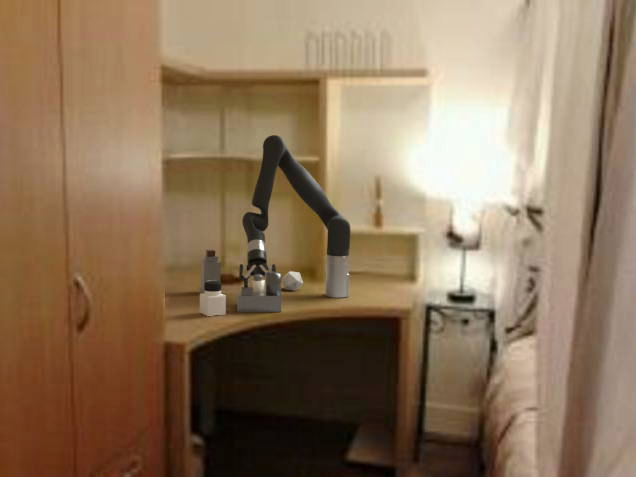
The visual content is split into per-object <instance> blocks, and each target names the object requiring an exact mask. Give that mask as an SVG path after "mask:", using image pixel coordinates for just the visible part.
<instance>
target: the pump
mask: <svg viewBox="0 0 636 477" xmlns="http://www.w3.org/2000/svg"><path fill="white" fill-rule="evenodd" d="M250 287H252V288H253V293H266V279H263V276H262V275H260V274H255V275H254V276H253V279H251V280H250Z"/></svg>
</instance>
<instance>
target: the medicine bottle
mask: <svg viewBox="0 0 636 477" xmlns="http://www.w3.org/2000/svg"><path fill="white" fill-rule="evenodd" d="M204 292H205V293H200V294H199V313H200V314H201V313H202V315H203V314H204V316H205V315H207V316H206V317H208V316H211V317H215V316H214V315H219V316H225V315H226V314H227V312H226V311H227V295H225V294H223V293H222V282H221V280H220V281H217V280H209V281H206V282H205V283H204Z"/></svg>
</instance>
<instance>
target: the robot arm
mask: <svg viewBox="0 0 636 477" xmlns="http://www.w3.org/2000/svg"><path fill="white" fill-rule="evenodd" d="M262 149H263V150H262V161H261V166H260V171H259V174H258V176H257V177H258V178H257V181H256V183H255V186H254V191H253V196H252V199H251V205H252V206H253V207H254V208H257V209H259V211H260V213H257V212H253V211H247V212H245V213H244V215H243V216H242V219H241V220H242V222H241V223H242V227H243V230H244V232H245V235H246V238H247V239H246V240H247V246H246V247H247V248H246V256H247V257H246V258H247V260H246V261H247V265H244V264H242V263H240V264H239V272H238V276H239V277H238V280H239V281H243V287H249V279H251V278H252V277H254V275H255V274H260V275H262V278H264V279H266V273H267V272H277V269H276V268H277V267H276V264H273V263H272V265H268V262H267V261H268V259H267V247H266V246H267V245H266V236H265V235H266V234H265V231H266V230H267V229H268V227H269V208H270V207H269V205H270V201H271V197H272V193H273V188H274V183H275V177H276V173H277V169H278V168H279V169H280V171H282V172H283V175H284V176H285V178H286V179H287V181H288V183H289V184H290V186H291V187H292V189H293V190H294V191H295V193H296V194H297V195H298V197H299V198H300V199H301V200H302V201H303V202H304V204H306V205H307V206H308V207H309V208H310V209H311V210H312V211H313V212H314V213H315V214H316V215H317V216H318V217H319V219H320V220H321V222H322V223H323V225H324V226H325V228H326V230H327V244H326V261H325V262H326V265H325V266H326V268H325V296H326V297H329V298H334V299H335V298H337V299H339V298H349V297H350V295H349V294H350V274H349V265H350V264H349V261H350V260H349V258H350V257H349V256H350V249H351V248H350V244H351V225H350V221H348V219H346V217H344V216H343V215H342V214H341V213H340V212H339V211H338V210H337V209H336V208H335V207H334V206H333V204H332V203H331V202H330V200H329V199H328V197H327V195H326V193H325V191H324V190H323V189H322V187H321V186H320V185H319V183H318V181H317V180H316V179H315V178H314V177H313V175H312V174H311V173H310V172H309V171H308V170H307V169H306V168H305V167H304V166H303V165H302V164H301V163H300V162H299V161H298V160H297V159H296V158H295V157H294V156H293V155H294V154H293V153H292V152H291V150H290V149H289V148H288V146H287V144H286V141H285V140H284V138H282V137H281V136H279V135H276V134H272V135H269V136H267V137H266V138H265V139H264V141H263V143H262ZM246 270H247V272H246V274H244V275H243V272H245V271H246ZM268 270H269V271H268Z"/></svg>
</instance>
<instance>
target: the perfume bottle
mask: <svg viewBox="0 0 636 477" xmlns="http://www.w3.org/2000/svg"><path fill="white" fill-rule="evenodd" d="M202 257H203V260H200V294H202V293H205V292H204V283H205V282H206V281H209V280H217V281H220V282H221V273H222V272H221V270H222V269H221V267H222V264H221V261H219V256H218V255H216V250H215V249H206V250H205V254H203V255H202Z"/></svg>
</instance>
